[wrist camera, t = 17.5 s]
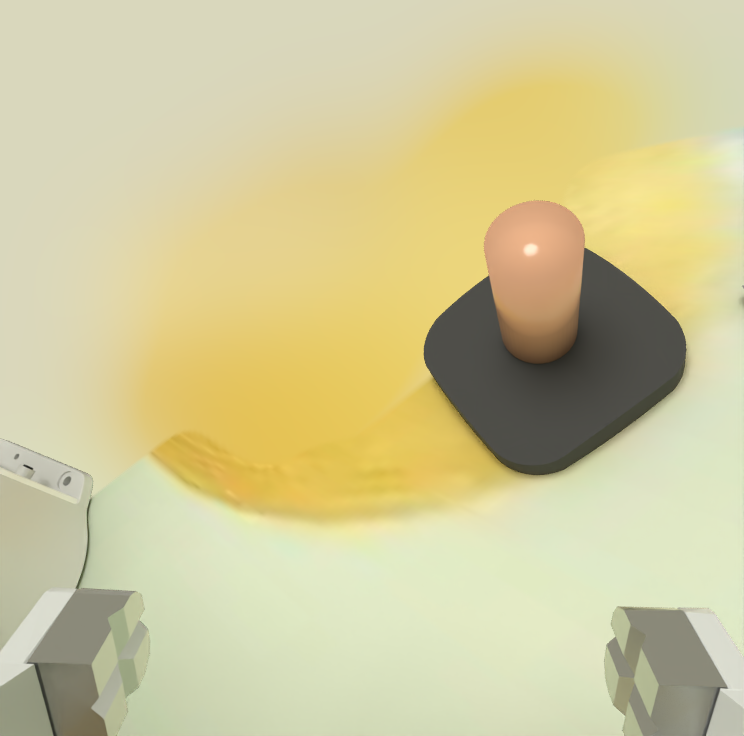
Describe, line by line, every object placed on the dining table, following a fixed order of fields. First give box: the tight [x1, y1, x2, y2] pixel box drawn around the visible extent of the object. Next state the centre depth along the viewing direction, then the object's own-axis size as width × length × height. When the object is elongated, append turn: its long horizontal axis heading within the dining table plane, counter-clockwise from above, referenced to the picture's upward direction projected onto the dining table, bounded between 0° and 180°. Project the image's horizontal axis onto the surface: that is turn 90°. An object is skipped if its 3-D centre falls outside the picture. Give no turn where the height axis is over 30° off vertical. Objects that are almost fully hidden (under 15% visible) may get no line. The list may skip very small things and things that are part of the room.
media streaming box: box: [424, 248, 686, 475], centre depth 42 cm, size 15×15×3 cm
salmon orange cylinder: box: [484, 201, 585, 364], centre depth 36 cm, size 5×5×11 cm
